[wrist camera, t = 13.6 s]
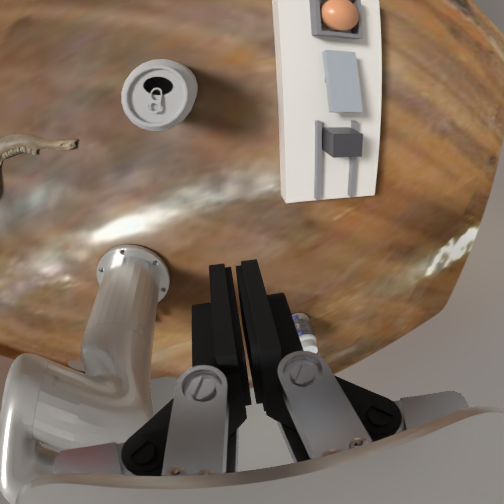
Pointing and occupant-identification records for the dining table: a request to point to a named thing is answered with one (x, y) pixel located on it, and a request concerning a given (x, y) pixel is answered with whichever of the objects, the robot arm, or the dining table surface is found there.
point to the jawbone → (30, 145)
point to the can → (159, 94)
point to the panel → (324, 101)
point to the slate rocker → (342, 81)
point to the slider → (342, 142)
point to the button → (338, 15)
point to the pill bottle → (305, 332)
